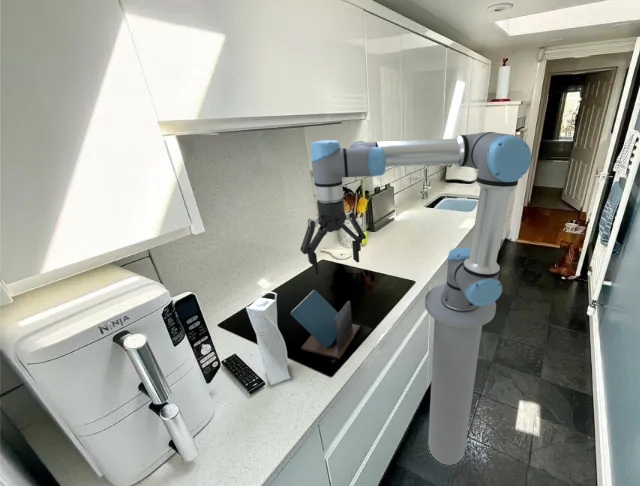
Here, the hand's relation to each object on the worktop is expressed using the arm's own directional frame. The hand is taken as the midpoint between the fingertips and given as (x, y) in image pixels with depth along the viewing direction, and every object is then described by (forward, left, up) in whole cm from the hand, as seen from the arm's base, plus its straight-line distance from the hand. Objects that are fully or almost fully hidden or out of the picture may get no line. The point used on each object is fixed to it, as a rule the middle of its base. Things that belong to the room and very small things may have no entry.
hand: (336, 266), depth 96 cm
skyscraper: (+10, +23, -26) cm, 36 cm away
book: (+1, +4, -24) cm, 24 cm away
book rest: (+3, +4, -26) cm, 26 cm away
